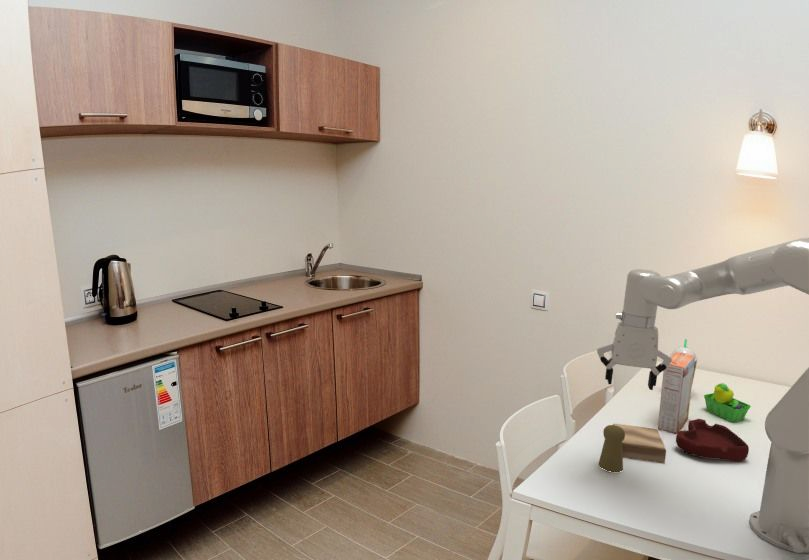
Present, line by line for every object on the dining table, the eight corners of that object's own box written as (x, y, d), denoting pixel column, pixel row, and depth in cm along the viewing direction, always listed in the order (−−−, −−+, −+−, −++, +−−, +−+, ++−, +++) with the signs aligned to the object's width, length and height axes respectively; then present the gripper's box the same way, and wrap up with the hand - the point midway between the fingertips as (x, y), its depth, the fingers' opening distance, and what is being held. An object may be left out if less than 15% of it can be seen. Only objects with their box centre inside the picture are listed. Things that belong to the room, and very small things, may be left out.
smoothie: (660, 392, 189) (666, 337, 186) (677, 388, 193) (683, 334, 189) (681, 401, 182) (688, 344, 178) (698, 397, 185) (705, 341, 182)
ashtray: (738, 475, 138) (740, 458, 137) (670, 452, 149) (672, 435, 148) (754, 451, 150) (757, 434, 149) (691, 431, 161) (693, 415, 160)
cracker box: (667, 413, 173) (675, 350, 169) (688, 418, 169) (696, 355, 165) (655, 428, 162) (663, 362, 158) (677, 434, 158) (685, 367, 154)
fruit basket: (750, 421, 168) (755, 386, 166) (729, 425, 165) (735, 390, 163) (717, 406, 178) (721, 374, 176) (697, 410, 175) (702, 377, 173)
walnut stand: (664, 462, 143) (666, 449, 142) (616, 456, 146) (617, 442, 145) (656, 441, 154) (657, 428, 153) (611, 435, 157) (612, 423, 156)
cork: (625, 474, 137) (629, 434, 135) (600, 471, 138) (604, 431, 136) (620, 462, 143) (624, 423, 141) (596, 459, 144) (600, 420, 142)
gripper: (602, 320, 131) (594, 385, 135) (679, 328, 127) (669, 396, 130) (600, 312, 138) (592, 375, 142) (673, 320, 134) (664, 384, 137)
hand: (629, 385), depth 136 cm, fingers open, 9 cm apart
